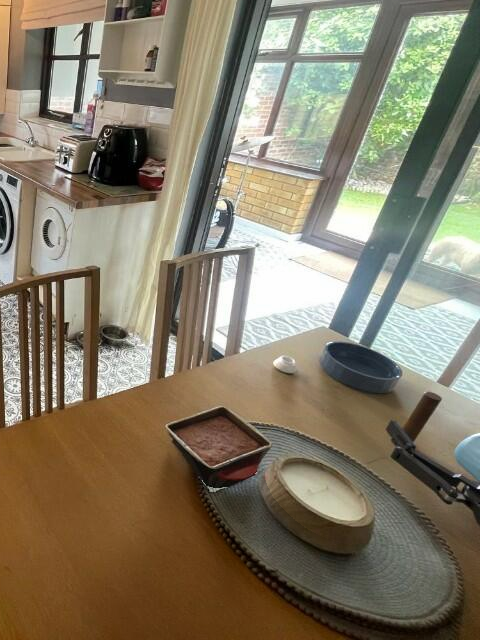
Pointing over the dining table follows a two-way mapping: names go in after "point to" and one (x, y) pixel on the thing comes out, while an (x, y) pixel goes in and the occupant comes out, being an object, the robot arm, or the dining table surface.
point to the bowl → (360, 367)
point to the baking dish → (219, 446)
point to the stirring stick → (421, 414)
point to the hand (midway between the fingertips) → (432, 433)
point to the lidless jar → (285, 364)
